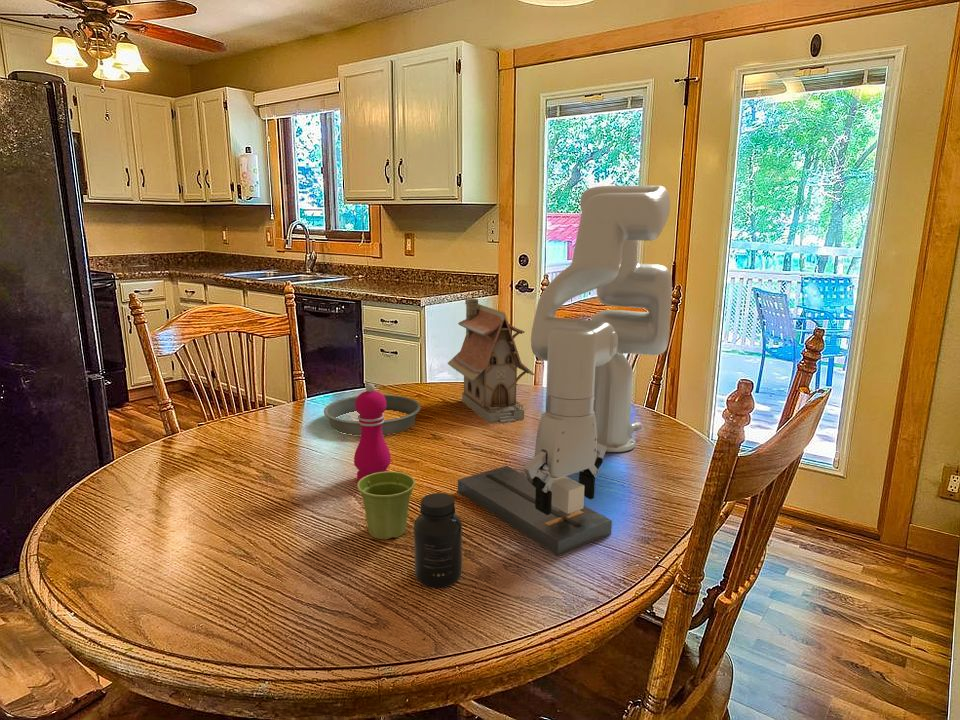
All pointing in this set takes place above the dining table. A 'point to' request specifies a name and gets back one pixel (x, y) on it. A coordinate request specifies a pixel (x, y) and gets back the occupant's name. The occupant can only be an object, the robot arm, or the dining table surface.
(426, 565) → the supplement bottle
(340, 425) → the cake pan
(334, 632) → the dining table surface
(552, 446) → the robot arm
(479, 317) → the miniature house
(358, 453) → the pepper mill
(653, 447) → the dining table surface
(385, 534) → the plant pot
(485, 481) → the fader console
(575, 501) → the fader knob
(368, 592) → the dining table surface
